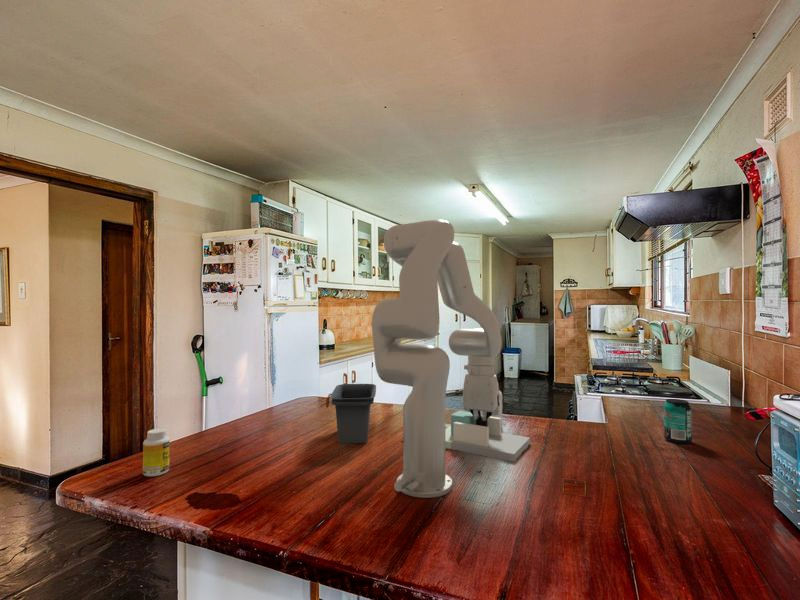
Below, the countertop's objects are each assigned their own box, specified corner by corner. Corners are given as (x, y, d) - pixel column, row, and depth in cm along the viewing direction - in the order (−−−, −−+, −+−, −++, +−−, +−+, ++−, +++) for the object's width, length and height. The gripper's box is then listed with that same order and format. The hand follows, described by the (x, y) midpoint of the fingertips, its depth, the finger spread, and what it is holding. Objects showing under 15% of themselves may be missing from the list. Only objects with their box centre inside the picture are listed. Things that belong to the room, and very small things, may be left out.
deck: (514, 461, 106) (514, 434, 106) (402, 439, 124) (402, 416, 124) (530, 444, 120) (529, 420, 120) (427, 426, 138) (427, 405, 138)
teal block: (469, 438, 119) (469, 417, 119) (450, 434, 122) (450, 414, 123) (477, 433, 124) (477, 413, 124) (459, 429, 128) (459, 410, 128)
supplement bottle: (165, 476, 97) (165, 433, 98) (139, 478, 96) (139, 434, 96) (172, 467, 103) (172, 426, 103) (147, 469, 101) (147, 428, 102)
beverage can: (683, 437, 126) (682, 398, 127) (697, 445, 119) (696, 403, 120) (659, 436, 127) (658, 398, 127) (671, 444, 120) (671, 403, 120)
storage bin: (375, 446, 118) (375, 397, 119) (321, 447, 118) (321, 397, 118) (376, 425, 140) (376, 383, 140) (330, 426, 139) (330, 383, 139)
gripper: (452, 369, 121) (453, 432, 121) (501, 374, 113) (502, 440, 113) (462, 366, 127) (463, 425, 127) (510, 370, 119) (510, 433, 119)
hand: (481, 432), depth 120 cm, fingers closed
